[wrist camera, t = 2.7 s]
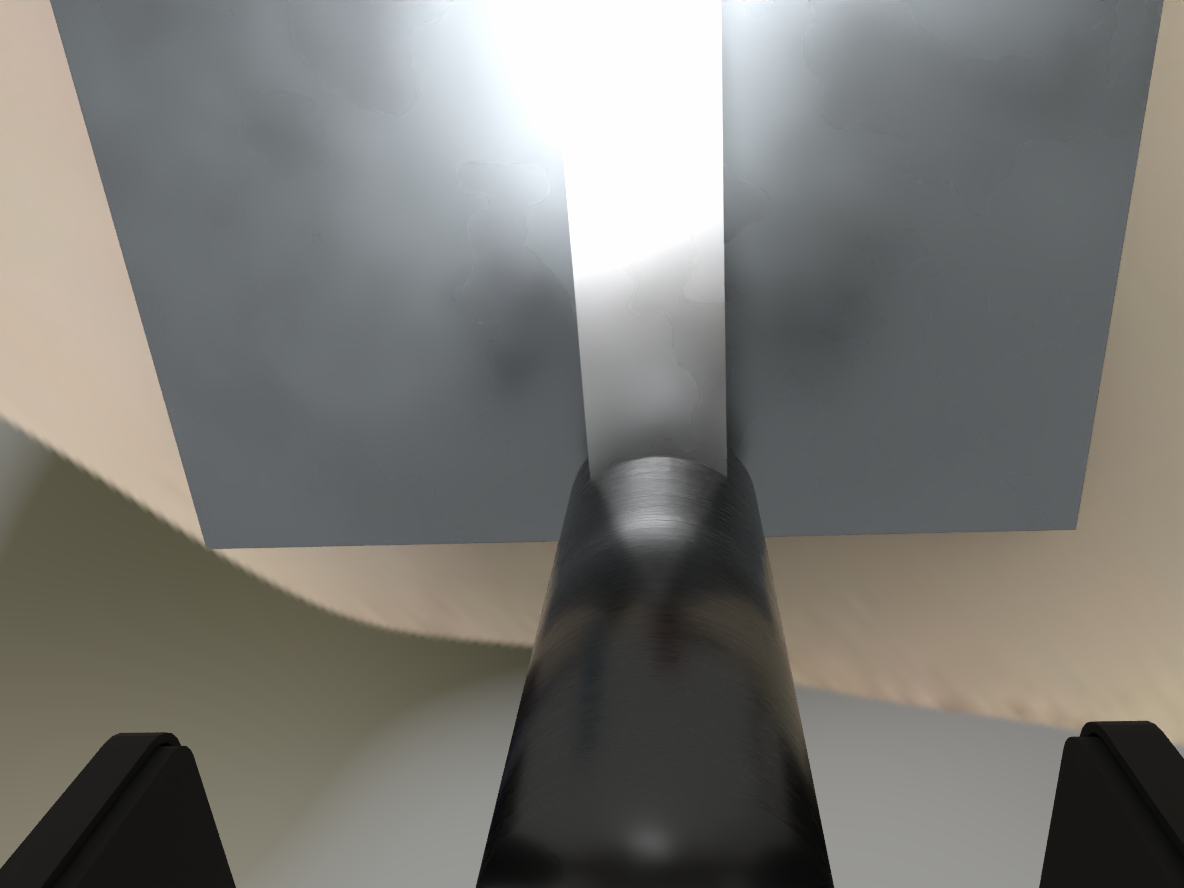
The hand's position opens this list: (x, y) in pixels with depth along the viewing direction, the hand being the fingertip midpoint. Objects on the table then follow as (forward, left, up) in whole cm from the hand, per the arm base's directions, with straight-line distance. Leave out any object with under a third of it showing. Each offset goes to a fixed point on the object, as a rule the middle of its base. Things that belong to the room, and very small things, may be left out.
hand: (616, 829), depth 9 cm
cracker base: (+1, -9, -10) cm, 13 cm away
